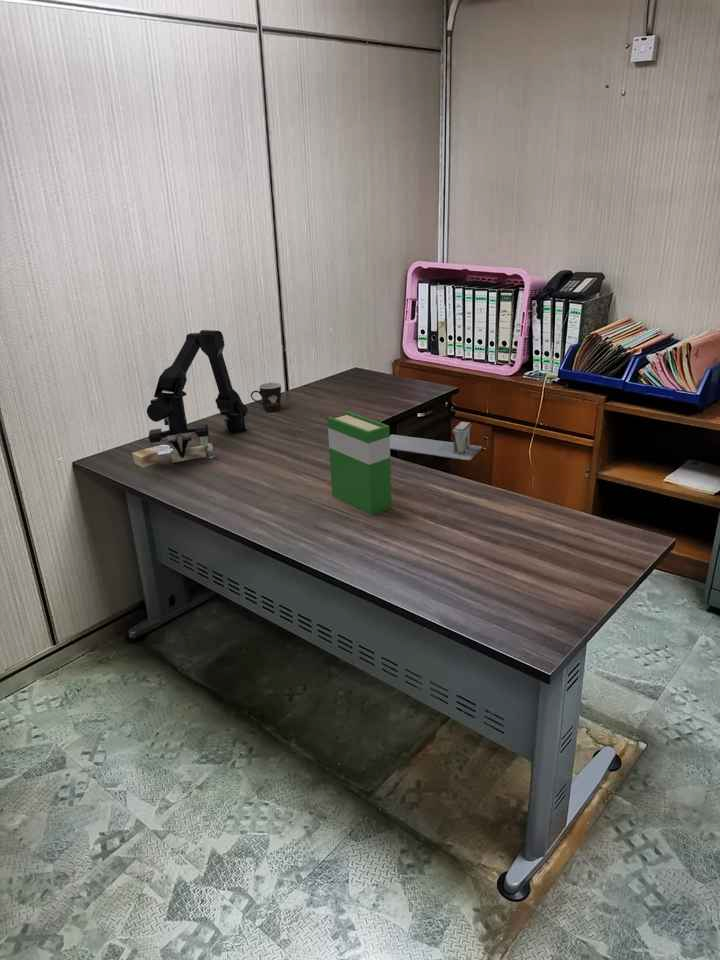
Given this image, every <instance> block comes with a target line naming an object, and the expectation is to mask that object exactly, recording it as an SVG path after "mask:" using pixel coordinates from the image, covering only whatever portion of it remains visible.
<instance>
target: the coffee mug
mask: <svg viewBox="0 0 720 960" xmlns="http://www.w3.org/2000/svg"><path fill="white" fill-rule="evenodd" d="M258 388H259V390H253V391H252V392H251V393H250V397H251V400H253V401H254V402H256V403H258V404H260V405H262V406H263V411H264V412H265V413H276V412H280V411H281V405H282V404H281V401H282V400H281V399H282V397H281V396H282V385H281V383H278V382H265V383H261V384H260V385H259V386H258ZM254 393H258V394H259V395H260V396H261V401H258V400H256V399H255V398H253V394H254Z"/></svg>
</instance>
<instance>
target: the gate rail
mask: <svg viewBox="0 0 720 960" xmlns="http://www.w3.org/2000/svg"><path fill="white" fill-rule="evenodd" d="M181 451H182V448H181ZM170 456H171V462H172V463H178V462H179V463H180V462H184V461H190V460H195V459H197V460H198V459H201V458H204V457H206V449H205V446H204V445H197V446H191V447H186V450H185V455H184V458H181V457H180V455H179V453H178V451H177V450H176V449H173V450H170ZM182 457H183V456H182Z"/></svg>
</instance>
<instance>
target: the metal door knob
mask: <svg viewBox="0 0 720 960" xmlns="http://www.w3.org/2000/svg"><path fill="white" fill-rule="evenodd" d="M204 447H205V453H206V457H203V458H204V459H213V458H216V457H217V453H215V452H214V448H213V447H214V446H213V443H212V442H208V443H207V444H205V446H204Z"/></svg>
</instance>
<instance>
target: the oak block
mask: <svg viewBox="0 0 720 960" xmlns="http://www.w3.org/2000/svg"><path fill="white" fill-rule="evenodd" d="M132 458H133V462H134V463H133V464H134V465H135V466H138V467H140V468H142V469H144V468H148V467H151V466H154V465H156V464H160V459H159V453H158V451H156V450H154V449H152V448H149V447H147V448H143V449H140V450H136V451H134V452H132Z"/></svg>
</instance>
